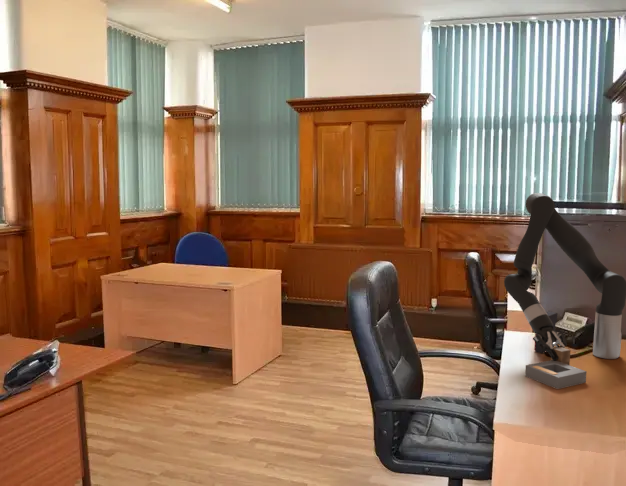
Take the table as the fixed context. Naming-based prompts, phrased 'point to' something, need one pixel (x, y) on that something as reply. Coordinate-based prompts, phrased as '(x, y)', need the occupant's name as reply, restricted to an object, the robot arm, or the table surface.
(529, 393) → the table surface
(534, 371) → the socket block
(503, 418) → the table surface
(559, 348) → the walnut peg
